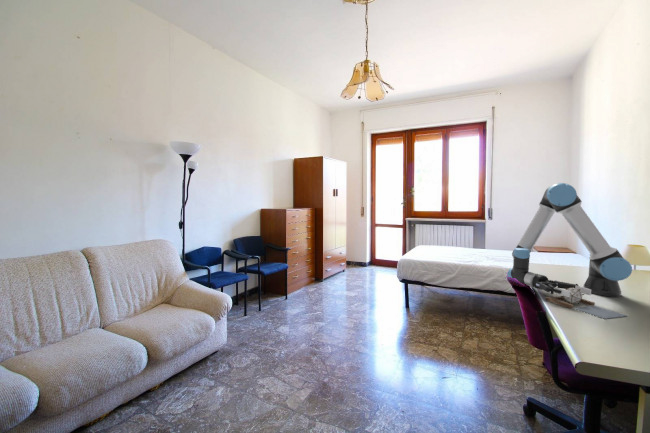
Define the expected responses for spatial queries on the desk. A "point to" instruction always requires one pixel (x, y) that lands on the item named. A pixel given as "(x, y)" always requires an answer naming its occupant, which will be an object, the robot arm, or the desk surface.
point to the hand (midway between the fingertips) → (580, 293)
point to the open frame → (557, 301)
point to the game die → (573, 295)
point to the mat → (600, 312)
